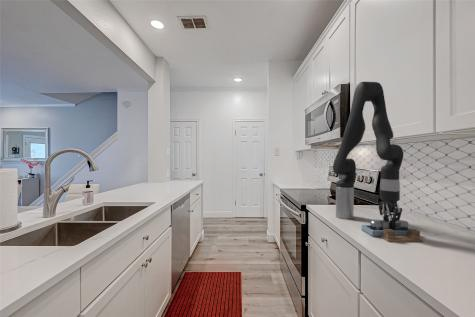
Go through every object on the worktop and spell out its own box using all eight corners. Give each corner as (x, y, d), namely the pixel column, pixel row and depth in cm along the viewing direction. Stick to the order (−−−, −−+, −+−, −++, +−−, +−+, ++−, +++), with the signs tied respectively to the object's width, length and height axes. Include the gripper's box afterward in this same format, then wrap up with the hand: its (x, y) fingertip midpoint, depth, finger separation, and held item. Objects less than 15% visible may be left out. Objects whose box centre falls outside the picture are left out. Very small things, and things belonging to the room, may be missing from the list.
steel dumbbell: (368, 227, 111) (368, 219, 111) (403, 227, 111) (403, 219, 111) (374, 230, 106) (374, 222, 106) (411, 230, 106) (411, 222, 106)
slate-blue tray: (361, 230, 113) (361, 224, 113) (404, 230, 113) (404, 225, 113) (372, 236, 104) (372, 230, 104) (419, 237, 104) (419, 231, 104)
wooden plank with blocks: (380, 237, 103) (380, 228, 103) (413, 237, 103) (413, 228, 103) (388, 241, 98) (388, 231, 98) (422, 242, 98) (422, 232, 98)
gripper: (372, 187, 115) (371, 223, 116) (391, 191, 101) (390, 232, 101) (388, 187, 115) (387, 223, 116) (409, 191, 101) (408, 232, 101)
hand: (389, 227), depth 108 cm, fingers closed on steel dumbbell, 4 cm apart
